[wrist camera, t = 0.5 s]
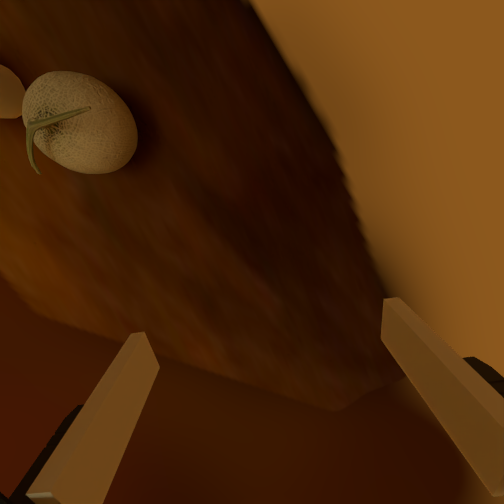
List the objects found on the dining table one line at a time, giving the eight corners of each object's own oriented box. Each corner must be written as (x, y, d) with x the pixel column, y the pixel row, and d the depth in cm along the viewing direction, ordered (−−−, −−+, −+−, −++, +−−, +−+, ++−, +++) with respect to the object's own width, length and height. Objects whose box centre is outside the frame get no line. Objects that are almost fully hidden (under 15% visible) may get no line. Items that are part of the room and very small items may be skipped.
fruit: (60, 143, 33) (-72, 134, 20) (95, 68, 30) (-35, -6, 16) (126, 190, 36) (49, 212, 22) (165, 126, 33) (103, 105, 19)
